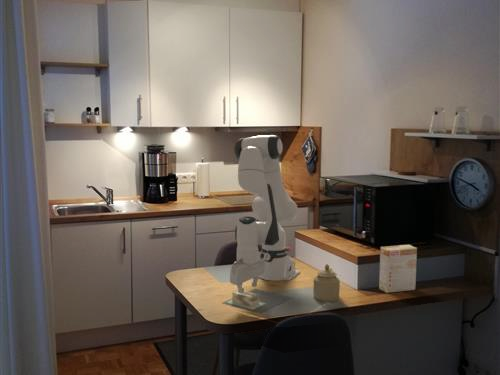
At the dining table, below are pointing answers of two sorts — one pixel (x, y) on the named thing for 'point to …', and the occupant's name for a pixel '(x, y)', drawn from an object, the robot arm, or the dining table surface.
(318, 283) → the sugar bowl
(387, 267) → the coffeecake box
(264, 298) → the rubber mat
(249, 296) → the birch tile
